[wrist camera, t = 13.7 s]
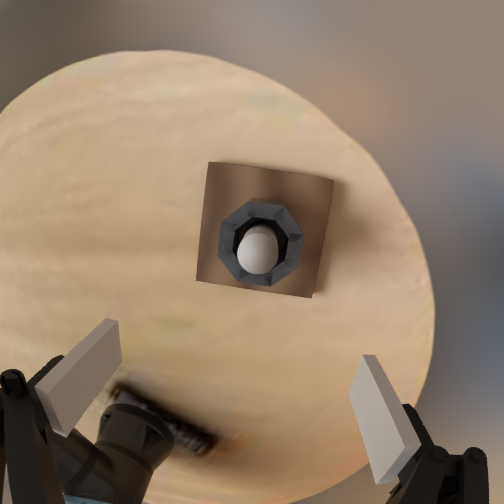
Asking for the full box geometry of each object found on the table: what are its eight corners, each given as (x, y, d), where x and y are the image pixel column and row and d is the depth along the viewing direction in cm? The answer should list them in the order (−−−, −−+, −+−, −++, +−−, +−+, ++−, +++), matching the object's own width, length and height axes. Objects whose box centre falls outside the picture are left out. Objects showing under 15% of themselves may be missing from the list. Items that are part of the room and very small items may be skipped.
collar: (223, 262, 32) (214, 277, 27) (232, 194, 30) (224, 197, 25) (291, 273, 31) (294, 290, 26) (302, 205, 29) (308, 210, 25)
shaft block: (199, 276, 36) (168, 317, 25) (211, 162, 32) (181, 154, 21) (310, 293, 35) (324, 341, 24) (331, 180, 32) (360, 181, 21)
